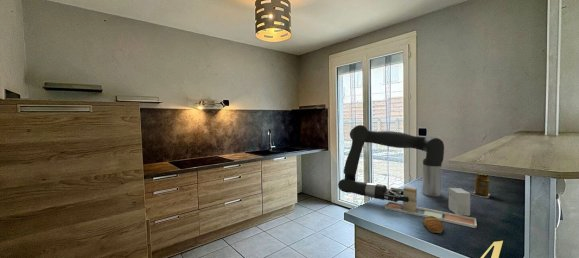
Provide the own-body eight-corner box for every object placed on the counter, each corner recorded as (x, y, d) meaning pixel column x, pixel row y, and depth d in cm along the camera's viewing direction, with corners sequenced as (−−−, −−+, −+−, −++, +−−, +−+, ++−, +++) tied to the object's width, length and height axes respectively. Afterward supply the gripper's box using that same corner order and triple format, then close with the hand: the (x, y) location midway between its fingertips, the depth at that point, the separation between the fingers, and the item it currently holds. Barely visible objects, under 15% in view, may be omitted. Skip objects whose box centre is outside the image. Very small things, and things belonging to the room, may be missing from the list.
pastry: (447, 236, 87) (447, 226, 87) (427, 233, 89) (427, 223, 89) (440, 225, 96) (440, 216, 96) (421, 223, 98) (422, 214, 98)
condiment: (490, 194, 132) (490, 174, 132) (488, 198, 126) (489, 176, 126) (474, 191, 137) (474, 172, 137) (471, 195, 131) (472, 174, 131)
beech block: (405, 207, 114) (405, 185, 114) (416, 210, 111) (416, 187, 111) (403, 210, 110) (403, 188, 110) (414, 213, 107) (415, 190, 107)
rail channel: (388, 202, 121) (388, 200, 121) (475, 220, 99) (475, 218, 99) (383, 208, 114) (383, 206, 114) (476, 228, 92) (476, 226, 92)
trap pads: (388, 203, 120) (388, 203, 120) (474, 220, 99) (474, 220, 99) (385, 207, 114) (385, 207, 114) (474, 227, 93) (474, 226, 93)
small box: (470, 216, 104) (470, 193, 103) (456, 215, 105) (457, 192, 104) (460, 209, 112) (461, 188, 111) (448, 208, 113) (448, 187, 112)
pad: (425, 210, 110) (425, 210, 110) (442, 214, 106) (442, 214, 106) (423, 215, 105) (423, 215, 105) (441, 219, 100) (441, 219, 100)
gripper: (371, 187, 114) (407, 193, 105) (379, 181, 126) (413, 186, 116) (371, 202, 115) (407, 209, 105) (379, 194, 126) (412, 200, 116)
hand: (410, 197), depth 111 cm, fingers open, 8 cm apart
